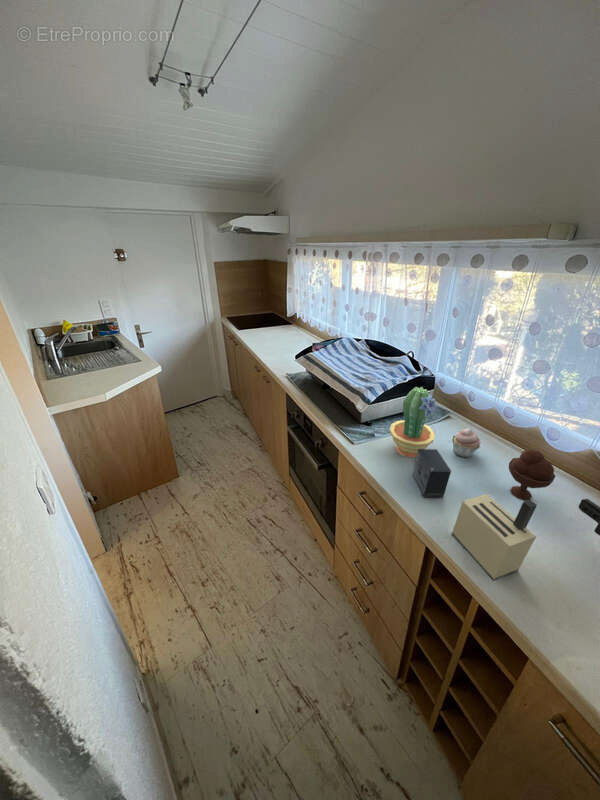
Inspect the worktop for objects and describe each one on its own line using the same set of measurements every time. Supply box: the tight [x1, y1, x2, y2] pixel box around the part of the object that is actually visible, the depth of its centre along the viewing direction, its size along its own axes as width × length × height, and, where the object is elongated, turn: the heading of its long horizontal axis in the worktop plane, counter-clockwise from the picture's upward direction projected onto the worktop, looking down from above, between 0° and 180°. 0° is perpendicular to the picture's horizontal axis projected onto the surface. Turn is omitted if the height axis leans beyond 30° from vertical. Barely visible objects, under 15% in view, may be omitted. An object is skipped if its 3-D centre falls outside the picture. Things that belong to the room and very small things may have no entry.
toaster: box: [451, 493, 537, 581], centre depth 73 cm, size 8×13×12 cm, turn 18°
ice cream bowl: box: [508, 448, 556, 501], centre depth 89 cm, size 11×11×15 cm
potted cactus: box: [389, 386, 437, 458], centre depth 106 cm, size 16×15×25 cm
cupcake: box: [451, 428, 481, 458], centre depth 108 cm, size 9×9×10 cm
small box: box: [411, 448, 452, 499], centre depth 93 cm, size 11×6×10 cm, turn 0°
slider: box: [513, 499, 538, 530], centre depth 66 cm, size 2×2×7 cm
